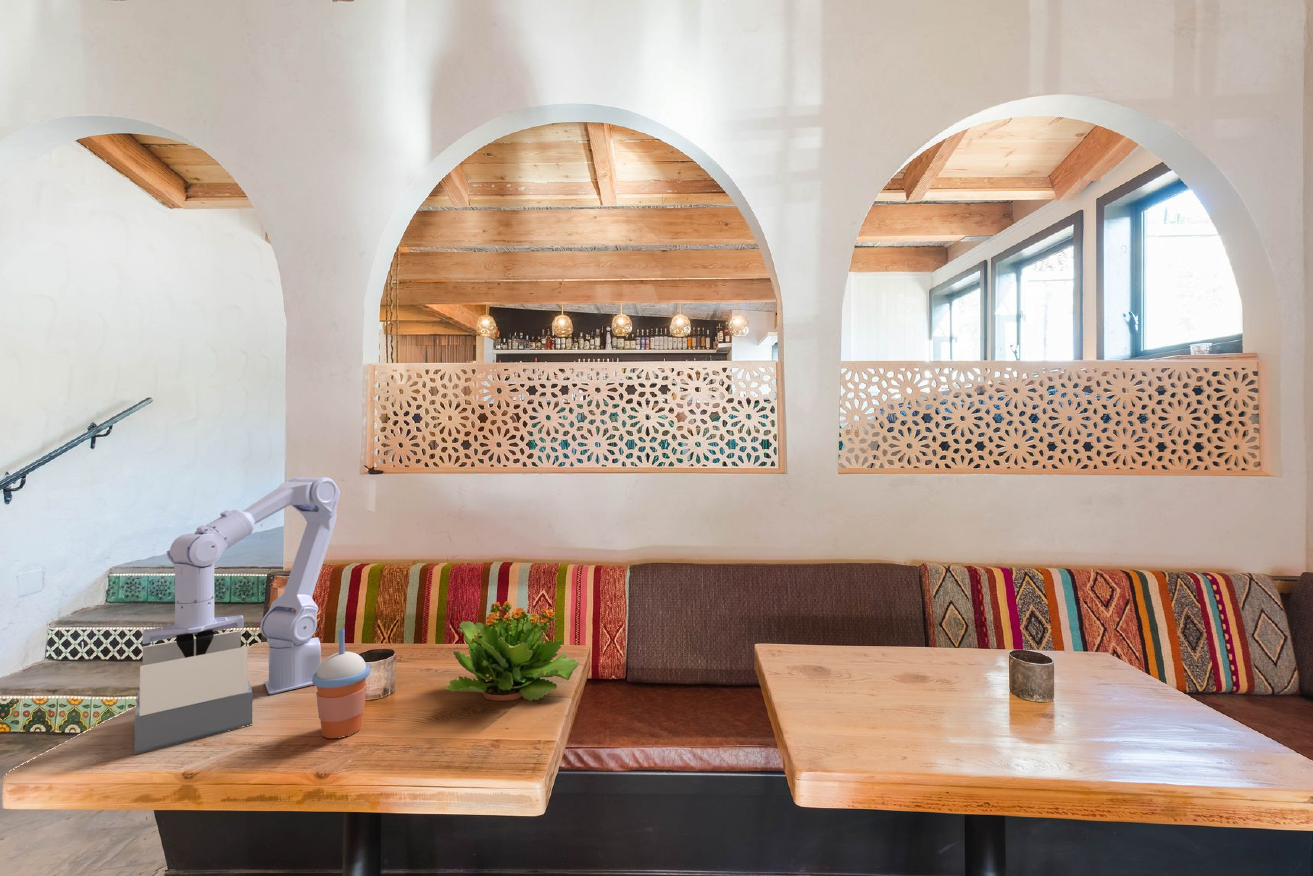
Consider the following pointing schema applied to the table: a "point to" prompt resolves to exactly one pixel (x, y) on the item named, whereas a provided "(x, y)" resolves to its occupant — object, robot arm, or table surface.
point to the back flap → (173, 651)
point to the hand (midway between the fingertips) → (194, 674)
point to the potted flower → (511, 656)
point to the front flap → (193, 680)
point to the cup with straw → (341, 691)
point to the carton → (191, 721)
